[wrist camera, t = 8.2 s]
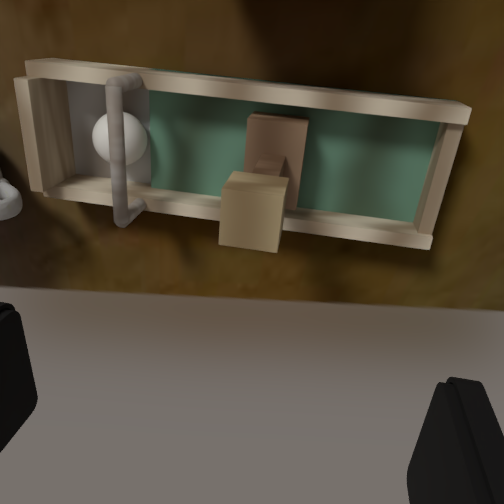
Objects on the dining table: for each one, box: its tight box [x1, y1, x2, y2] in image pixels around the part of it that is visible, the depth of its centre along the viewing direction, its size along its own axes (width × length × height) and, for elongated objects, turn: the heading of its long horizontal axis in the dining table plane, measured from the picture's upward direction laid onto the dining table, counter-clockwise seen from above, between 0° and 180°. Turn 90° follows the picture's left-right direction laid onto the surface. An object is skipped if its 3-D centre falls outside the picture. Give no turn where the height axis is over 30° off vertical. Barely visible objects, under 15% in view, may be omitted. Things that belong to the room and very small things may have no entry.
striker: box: [219, 111, 309, 253], centre depth 27 cm, size 4×6×13 cm, turn 175°
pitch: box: [14, 58, 472, 250], centre depth 31 cm, size 30×10×8 cm, turn 85°
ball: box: [92, 112, 147, 165], centre depth 34 cm, size 4×4×4 cm
